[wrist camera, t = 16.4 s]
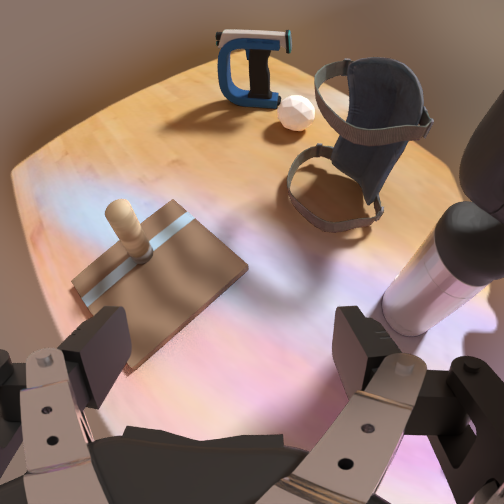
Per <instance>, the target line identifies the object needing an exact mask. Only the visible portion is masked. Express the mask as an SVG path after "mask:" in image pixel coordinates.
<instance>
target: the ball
mask: <svg viewBox="0 0 504 504" xmlns="http://www.w3.org/2000/svg"><path fill="white" fill-rule="evenodd" d="M314 115H315V108H314V107H313V105H312V104H311V103H310V101H309V100H308V99H306V98H304V97H302V96H289V97H287V98H286V99H284V100H282V101H281V104H280V106H279V108H278V119H279V120H280V122H281V123H282V125H283V126H284V127H285V128H288V129H290V130H293V131H303V130H304V129H306V128H307V127H309V126H310V125H311V124H312V122H313V120H314Z"/></svg>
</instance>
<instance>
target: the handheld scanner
mask: <svg viewBox="0 0 504 504" xmlns="http://www.w3.org/2000/svg"><path fill="white" fill-rule="evenodd" d="M216 40H220V41H216V45H217V46H218V48H221V50H220V52H219V55H218V79H219V85H220V89H221V92H222V93H223V95H224V96H225V97H226V98H227V99H228V100H229V101H230V102H232V103H234V104H236V105H239V106H245V107H260V108H273V109H276V108H277V105H278V106H279V105H280V103H281V96H278V93H276V92H271V91H270V72H269V68H268V57H269V56H270V52H271V50H276V51H279V49H280V46H282V47H284V48H285V49H286V53H290V52H291V50H292V40H291V32H290V30H286V32H275V31H259V30H224V31H223V32H217V33H216ZM235 49H245V50H246V57H247V60H249V78H250V91H249V90H242V89H239V88H238V87H236V86H235V85H234V83H233V82H232V79H231V70H230V52H231V51H232V50H235Z"/></svg>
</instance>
